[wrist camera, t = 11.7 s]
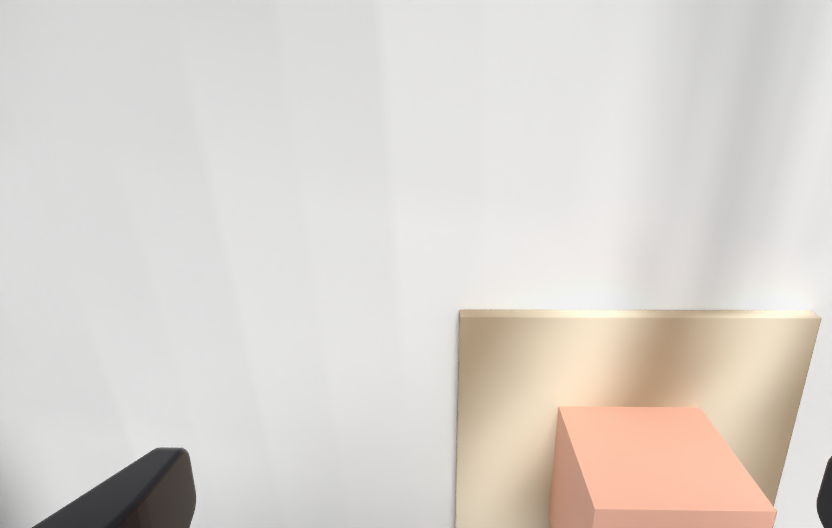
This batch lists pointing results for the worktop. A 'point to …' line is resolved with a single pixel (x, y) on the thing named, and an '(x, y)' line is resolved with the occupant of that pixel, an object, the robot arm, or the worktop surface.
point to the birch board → (616, 391)
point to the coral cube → (649, 472)
